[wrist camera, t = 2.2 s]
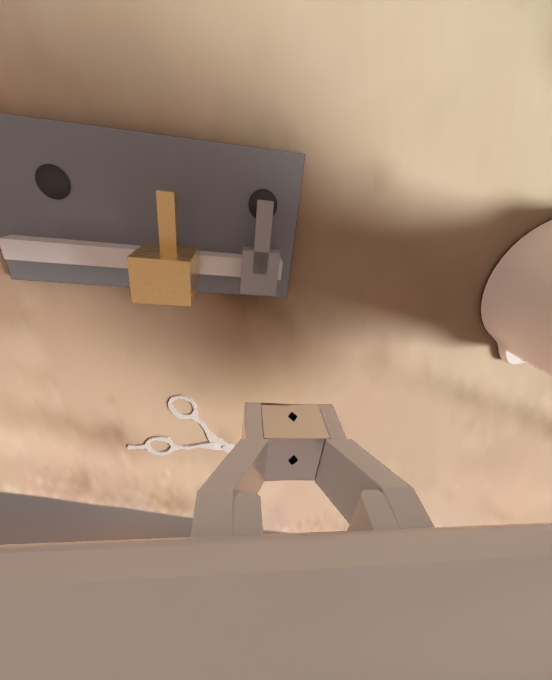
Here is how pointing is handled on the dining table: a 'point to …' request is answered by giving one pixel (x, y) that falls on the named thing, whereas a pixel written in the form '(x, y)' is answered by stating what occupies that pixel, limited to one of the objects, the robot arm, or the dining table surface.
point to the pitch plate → (143, 204)
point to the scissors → (213, 444)
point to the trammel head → (164, 262)
